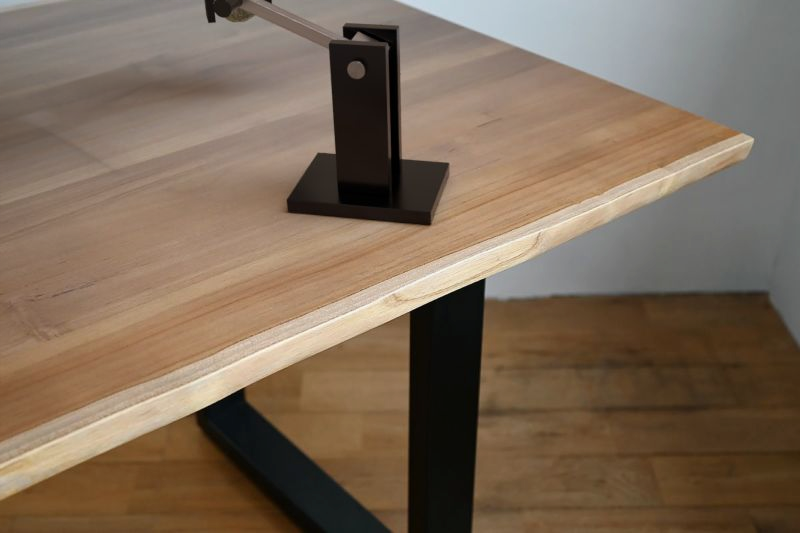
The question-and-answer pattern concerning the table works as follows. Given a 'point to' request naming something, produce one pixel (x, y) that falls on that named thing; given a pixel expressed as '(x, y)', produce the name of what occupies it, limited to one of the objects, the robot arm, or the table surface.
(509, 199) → the table surface
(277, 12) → the lever
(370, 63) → the bracket
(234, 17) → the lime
